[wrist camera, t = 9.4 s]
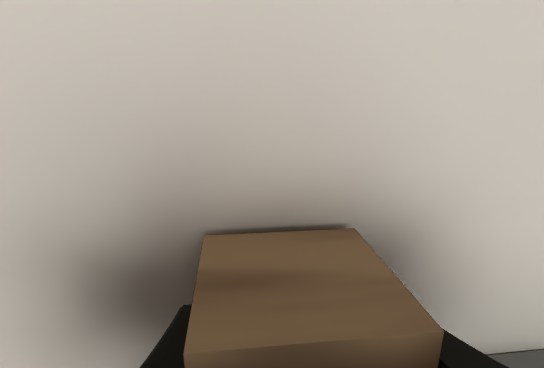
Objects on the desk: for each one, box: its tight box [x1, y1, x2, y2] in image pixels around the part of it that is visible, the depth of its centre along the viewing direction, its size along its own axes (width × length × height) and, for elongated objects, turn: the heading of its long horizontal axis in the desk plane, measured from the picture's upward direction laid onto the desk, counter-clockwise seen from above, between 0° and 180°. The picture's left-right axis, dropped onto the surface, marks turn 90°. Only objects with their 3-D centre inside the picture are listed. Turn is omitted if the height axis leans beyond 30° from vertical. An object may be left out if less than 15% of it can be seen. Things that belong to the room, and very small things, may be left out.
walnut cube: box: [183, 228, 444, 368], centre depth 9 cm, size 5×5×5 cm
